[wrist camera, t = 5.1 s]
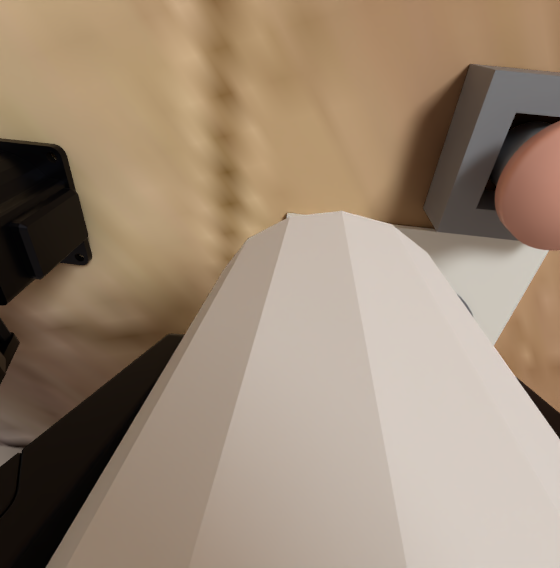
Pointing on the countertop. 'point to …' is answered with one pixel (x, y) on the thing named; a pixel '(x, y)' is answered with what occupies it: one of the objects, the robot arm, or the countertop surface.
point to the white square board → (480, 271)
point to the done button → (530, 184)
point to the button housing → (483, 145)
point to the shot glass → (328, 424)
